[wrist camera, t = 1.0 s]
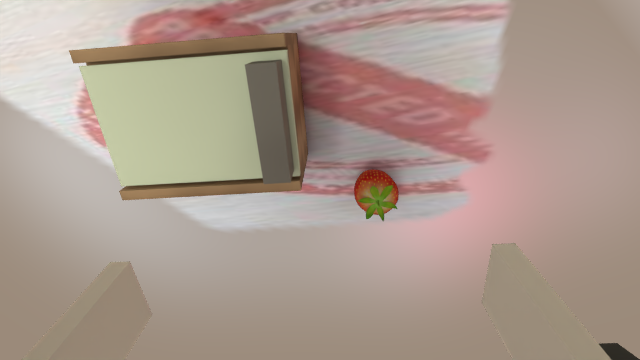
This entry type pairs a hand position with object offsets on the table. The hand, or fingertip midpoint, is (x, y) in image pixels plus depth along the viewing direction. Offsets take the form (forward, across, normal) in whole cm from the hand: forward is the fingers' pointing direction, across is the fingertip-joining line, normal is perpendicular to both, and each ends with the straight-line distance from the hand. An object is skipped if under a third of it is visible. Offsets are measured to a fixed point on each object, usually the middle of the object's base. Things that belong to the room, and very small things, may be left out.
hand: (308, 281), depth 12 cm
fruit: (+30, +6, -10) cm, 32 cm away
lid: (+20, -11, +1) cm, 23 cm away
